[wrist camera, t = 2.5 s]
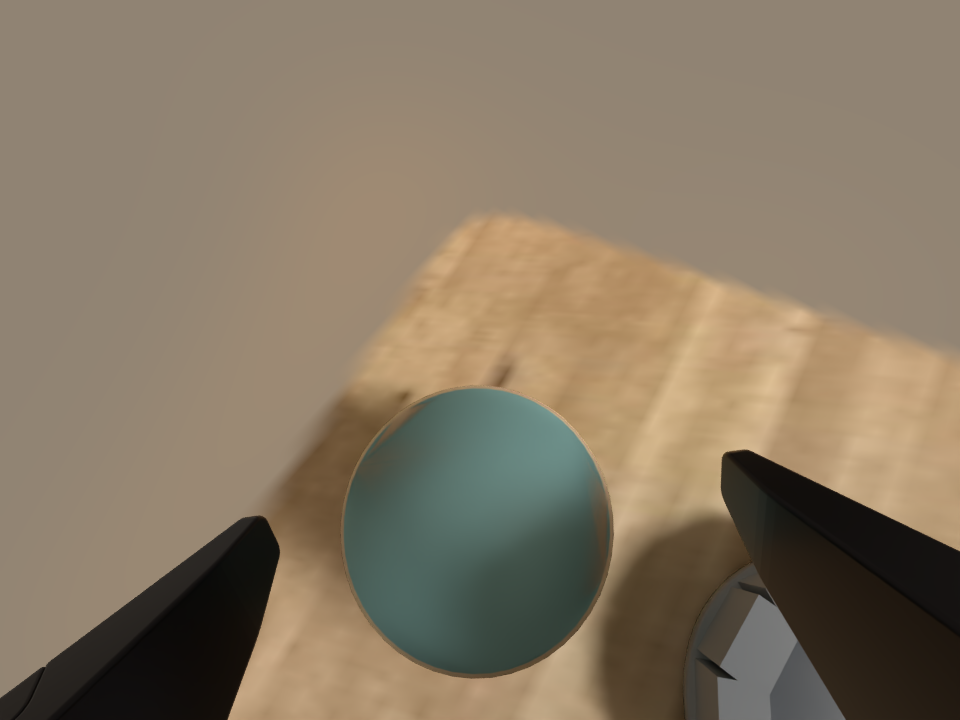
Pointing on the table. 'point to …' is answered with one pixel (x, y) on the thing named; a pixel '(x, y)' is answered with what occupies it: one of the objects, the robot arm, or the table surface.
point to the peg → (477, 531)
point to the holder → (750, 660)
